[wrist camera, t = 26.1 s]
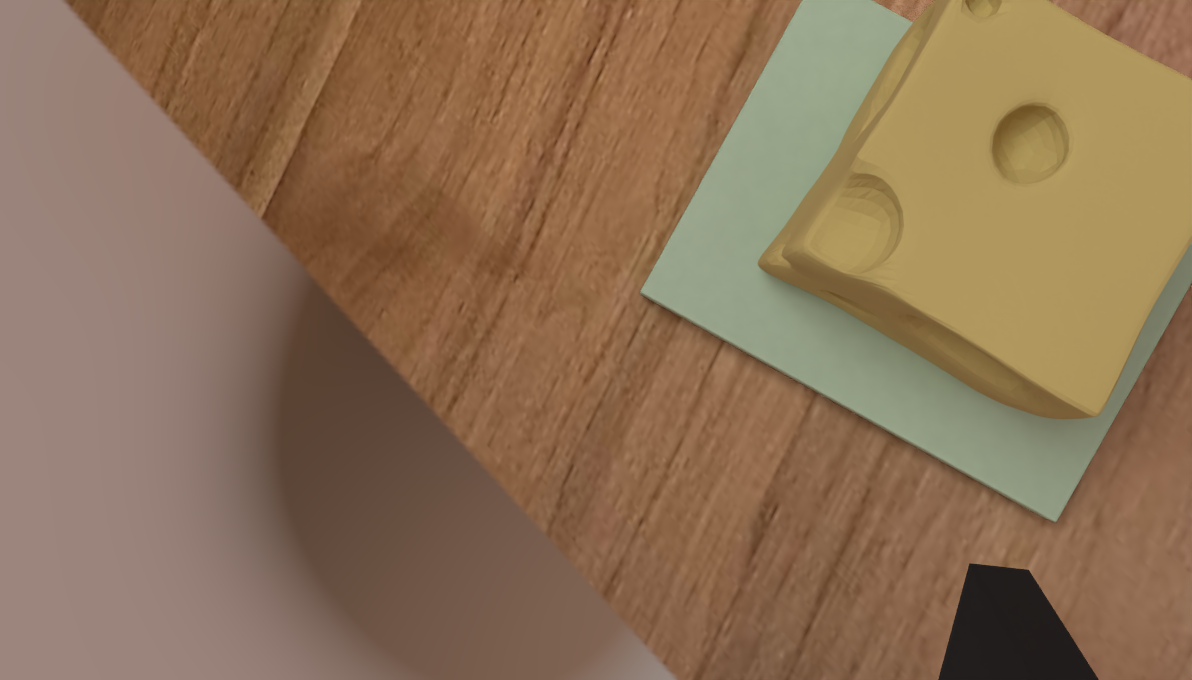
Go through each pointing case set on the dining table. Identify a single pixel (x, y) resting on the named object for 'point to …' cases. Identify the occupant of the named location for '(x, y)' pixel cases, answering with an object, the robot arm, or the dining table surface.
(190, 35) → the dining table surface
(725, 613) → the dining table surface
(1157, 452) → the dining table surface
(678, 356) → the dining table surface
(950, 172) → the cheese
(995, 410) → the board
